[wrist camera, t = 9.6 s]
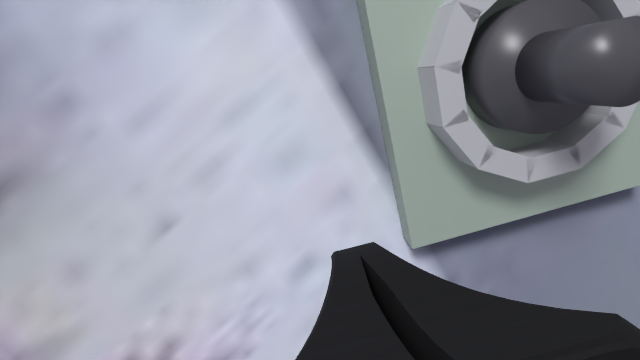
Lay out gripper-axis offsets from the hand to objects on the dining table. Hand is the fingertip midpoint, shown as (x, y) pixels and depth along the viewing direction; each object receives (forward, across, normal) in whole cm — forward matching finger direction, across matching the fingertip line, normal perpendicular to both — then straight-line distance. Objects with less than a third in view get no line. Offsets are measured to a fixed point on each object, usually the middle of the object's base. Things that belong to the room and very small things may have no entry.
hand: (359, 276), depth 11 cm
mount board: (+10, -11, -4) cm, 15 cm away
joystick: (+8, -11, -4) cm, 14 cm away
